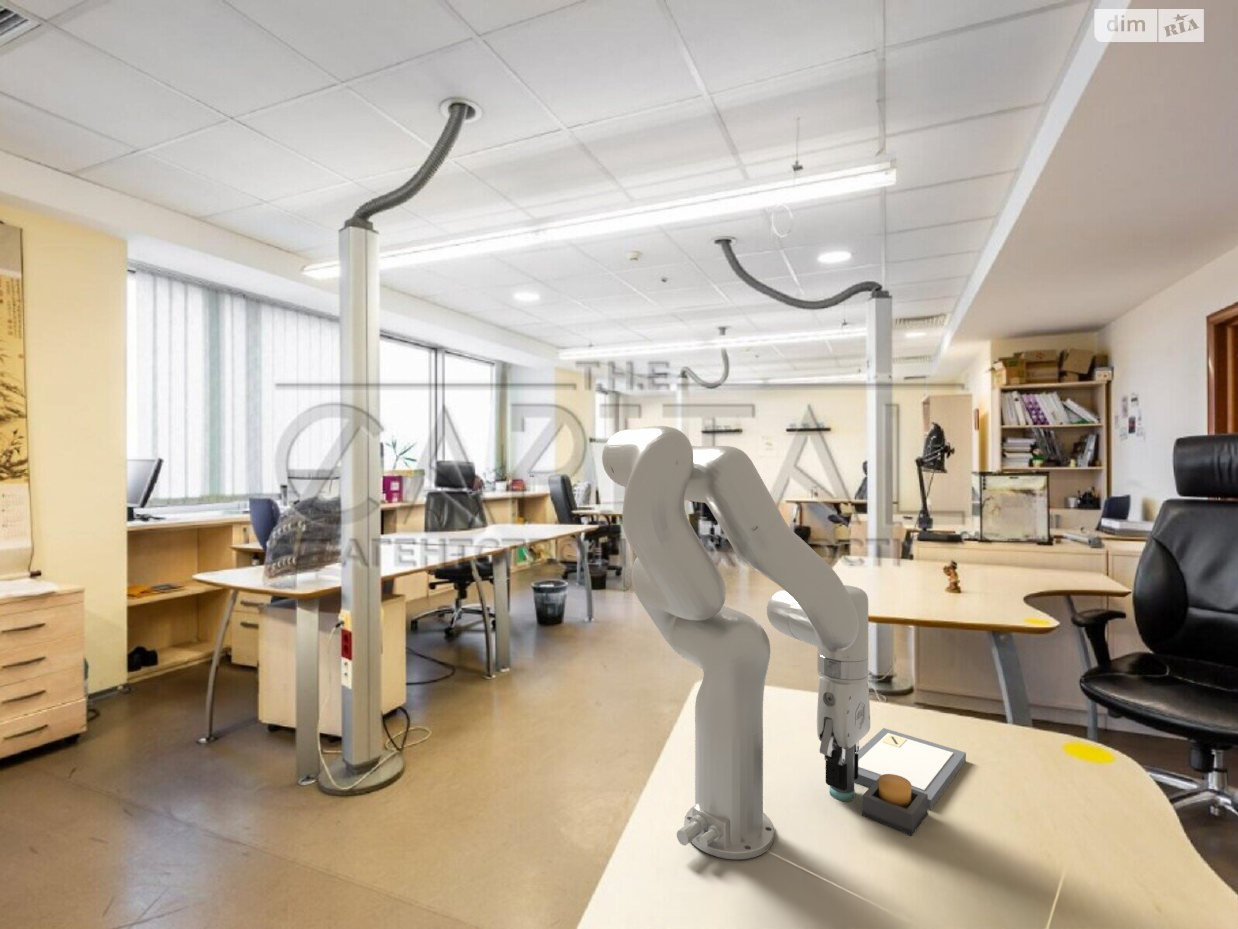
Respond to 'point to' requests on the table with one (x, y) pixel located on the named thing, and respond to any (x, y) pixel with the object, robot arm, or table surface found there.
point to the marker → (850, 791)
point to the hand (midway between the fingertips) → (842, 780)
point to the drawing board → (909, 762)
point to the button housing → (895, 810)
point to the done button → (895, 789)
